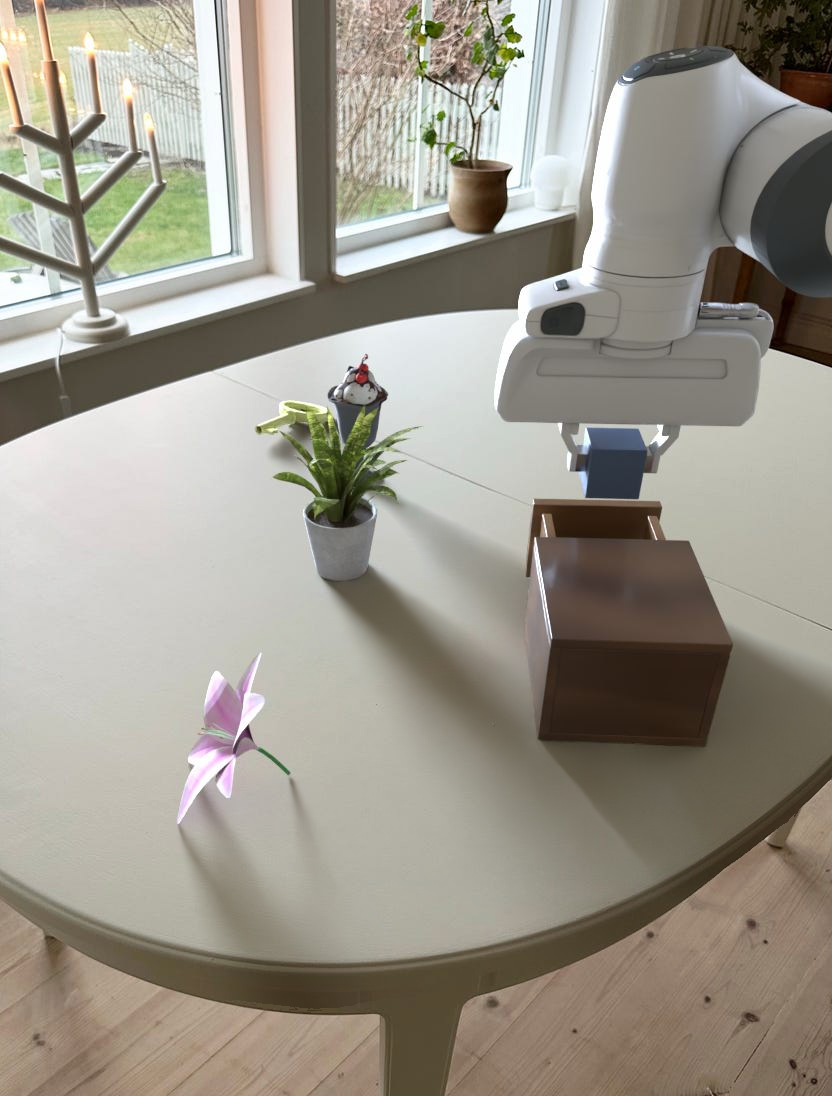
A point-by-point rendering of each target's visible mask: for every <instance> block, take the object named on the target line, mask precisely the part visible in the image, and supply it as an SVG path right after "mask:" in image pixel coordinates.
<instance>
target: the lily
mask: <svg viewBox="0 0 832 1096" xmlns="http://www.w3.org/2000/svg"><path fill="white" fill-rule="evenodd" d="M261 656H262V652H259V653H258V654H257V655H256V656H255V657H254V659H252V661H251V663H250V664H249V666H248V667H247V668H246V670H245V671H244V673H243V674H242V676H241V678H240V679H239V681H238V683H237V685H236V686H235V689H234V687H233V686H232V685H231V684H230V683H229V681H228V680H227V679H226V678H224V676H223V675H222V674H221V672H220V671H218V670H216V671H214V672H213V674H212V676H211V678H210V681H209V684H208V687H207V691H206V696H205V700H204V706H203V723H204V726H203V727H201V728H200V729H201V731H203V732H199V733H197V735H199V738H198V739H197V740H196V742H195V744H194V745H193V746H192V748H191V750H190V752H189V753H188V756H187V762H188V763H189V764H191V765H194V766H193V768H192V769H191V771H190V772H189V774H188V777H187V779H186V781H185V784H184V787H183V791H182V794H181V798H180V803H179V807H178V811H177V818H176V823H177V825H178V824H180V823H181V822H182V820H183V819H184V817H185V815H186V813H187V811H188V810H189V808H190V806H191V805H192V803H193V802H194V801H195V799H196V797H197V795H198V794H199V793H200V792H201V791H202V789H203V788H204V787H205V786H206V784H207V783H208V782H209V781H211V779H212V778H213V777H215V784H216V787H217V788H218V790H219V792H220V794H222V795H223V796H224V797H225V798H226V799H230V798H231V795H232V791H233V783H234V782H233V781H234V774H235V766H236V759H238V758H239V757H241V755H244V754H245V753H246V752H249V751H250V750H255V751H257V752H259V753H261V754H263V755H264V756H265V757H267V759H270V760H271V761H272V762H273V763H274V764H275V765H276V766H277V767H279V769H280V770H281V771H283V773H285V774H286V776H290V775H291V771H290V770H289V769H288V768H287V767H285V766H284V764H283V763H282V762H280V761H279V759H277V758H276V757H275V756H274V755H273V754H271V753H269V752H268V751H267V750H265V749H264V748H263V747H261V746H260V745H258V744H257V743H256V742H255V741H254V738H253V735H252V731H251V728H250V723H251V722H252V720H253V719H254V718H255V717H256V716H257V715H258V713H259V712H260V711H261V709H262V708H263V707H264V705H265V703H266V699H265V697H264V696H263V695H261V694H260V693H259V694H258V693H255V692H251V689H252V685H253V681H254V679H255V675H256V672H257V670H258V669H257V668H258V666H259V663H260V659H261Z"/></svg>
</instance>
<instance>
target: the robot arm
mask: <svg viewBox="0 0 832 1096" xmlns="http://www.w3.org/2000/svg"><path fill="white" fill-rule="evenodd" d="M609 97H610V98H609V101H608V103H607V108H606V110H605V111H606V112H605V115H604V119H603V124H602V128H601V134H600V139H599V142H598V149H597V154H596V161H595V166H594V175H593V180H592V188H591V204H592V211H593V223H592V229H591V234H590V236H589V240H588V242H587V244H586V246H585V249H584V253H583V259H582V266H581V267H580V268H577V269H574V270H571V271H568V272H565V273H561V274H559V275H555V276H551V277H549V278H545V279H541V280H539V281H535V282H532V283H529V284H527V285H525V286H523V288H521V290H520V294H519V298H518V307H517V311H518V318H519V319H518V320H517V321H516V322H514V323H513V324H512V325H511V327H510V328H509V330H508V332H507V334H506V336H505V338H504V342H503V346H502V349H501V352H500V357H499V362H498V367H497V372H496V379H495V385H494V396H493V397H494V399H493V400H494V401H493V402H494V409H495V411H496V413H497V414H498V416H499V417H500V418H501V419H502V421H504V422H505V423H530V424H531V423H532V424H533V423H536V424H538V423H539V424H557V425H558V429H559V433H560V436H561V439H562V440H563V442H564V445H565V446H566V449H567V458H566V468H567V471H568V472H569V473H571V472H572V473H579V472H586V468H587V464H586V463H587V462H588V455H589V454H588V450H587V447H586V445H583V444H578V443H577V441H576V440H575V437H574V436H577V435H578V434H579V430H580V425H581V424H585V425H586V424H587V425H588V424H590V425H631V426H632V425H635V426H636V425H637V426H639V425H641V426H643V425H644V426H657V428H658V431H659V432H658V433H657V434H656V436H655V437H654V438H653V440H652V441H651V442H650V444H649V445H645V446H646V448H647V451H648V452H647V457H646V463H645V468H644V474H657V473H658V471H659V466H660V460H661V456H663V455H665V453H666V452H667V451H668V450H669V449H670V447H671V446H672V445H674V443H675V442H676V441H677V440H678V438H679V436H680V431H681V426H685V427H686V426H689V427H692V426H693V427H741V426H743V425H744V424H746V423H747V422H748V421H749V420H750V419H751V418H752V417H754V414H755V411H756V407H757V403H758V395H759V389H760V381H761V367H762V358H764V356H765V355H766V354H767V352H768V350H769V348H770V345H771V340H772V337H773V333H774V327H775V325H774V320H773V318H772V315H770V313H769V312H767V311H766V310H764V309H762V308H760V306H759V304H757V303H754V302H739V303H726V302H719V301H718V302H717V301H716V302H715V301H714V302H712V301H711V302H710V301H709V302H707V301H701V297H702V293H703V289H704V284H705V278H706V273H707V268H708V263H709V258H710V256H711V255H712V253H714V251H715V250H716V249H718V248H724V247H736V249H738V250H740V251H741V252H743V253H744V254H746V255H747V256H749V257H751V258H753V259H754V260H756V261H757V262H759V263H760V264H762V265H763V266H764V267H765V268H766V270H768V271H769V272H770V273H771V274H772V275H773V276H774V277H775V278H777V280H779V282H781V283H782V285H784V286H785V287H787V288H788V289H789V290H791V291H793V292H795V293H796V294H800V295H803V296H806V297H811V298H832V112H831V111H829V110H827V109H824V108H821V107H817V106H813V105H811V104H808V103H805V102H803V101H801V100H799V99H797V98H795V97H792V96H790V95H788V94H786V93H784V92H782V91H780V90H779V89H777V88H775V87H773V86H772V85H770V84H768V83H767V82H765V81H764V80H762V78H761V79H760V78H759V77H758V76H757V75H755V74H754V73H753V72H752V71H751V70H749V68H747V67H746V66H745V65H744V64H743V63H742V62H741V61H740V59H739V58H738V56H737V55H736V53H735V52H734V51H733V50H732V49H730V48H725V47H723V46H715V45H699V46H698V45H697V46H695V47H681V48H675V49H670V50H665V51H662V52H661V51H660V52H658V53H654V54H651V55H648V56H645V57H644V58H641V59H640V60H638V61H636V62H634V63H632V64H631V65H630V66H628V68H626V70H624V71H623V72H622V73H621V74H620V75H619V77H618V79H617V80H616V82H615V85H614V86H613V89H612V92H611V95H610V96H609ZM758 316H759V317H758ZM760 316H761V317H760Z"/></svg>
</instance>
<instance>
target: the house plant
mask: <svg viewBox="0 0 832 1096" xmlns="http://www.w3.org/2000/svg"><path fill="white" fill-rule="evenodd" d="M305 408H306V410H305V412H306V414H307V419H308V423H307V424H308V428H309V431H310V437H311V438H310V439H309V441H312V450H313V454H314V458H315V459H314V458H313V457H312V455H311V453H310V452H309V451H308V449H307V448H306V447H305V446H303V444H302V443H301V442H299V441H298V440H297V439H296V438H294V437H293V436H292V435H290V434H288V433H285V432H283V431H281V430H279V433H280V434H281V435H282V436H283V437H284V438H285V439H286V440H288V441H289V442H290V444H291V446H292V447H293V448H294V449H295V451H296V452H297V453H298V454H299V455H301V457H302V458H303V459H304V461H305V462H306V463H305V462H304V461H303V459H302V458H300V457H299V456H297V455H295V454H292V453H291V456H293V457H295V458H296V459H297V460H299V461H300V462H301V463H302V464H303V465H304V466H305V467H306V468H307V469H308V471H309V473H310V475H311V476H312V477H313V480H315V482H316V483H317V485H318V487H319V490H320V492H319V490H318V489H317V488H316V487H315V486H314V485H313V484H312V482H310V481H309V480H307V479H306V478H304V477H303V476H300V475H299V474H297V473H293V472H291V471H282V472H278V473H276V474H274V475H273V476H272V477H271V478H270V480H272V479H275V480H278V481H282V482H287V483H291V484H295V485H298V486H301V487H302V488H305V489H307V490H308V491H310V492H311V493H312V494H313V495H314V496H315V497H314V498H313V499H312V500H311V501H309V502H308V503H307V504H306V505H305V506H304V508H303V510H302V511H303V512H302V515H303V520H304V524H305V528H306V532H307V535H308V541H309V545H310V550H311V553H312V557H313V561H314V566H315V569H316V572H317V574H318V575H319V576H320V577H322V578H323V579H327V580H330V581H336V582H344V581H351V580H356V579H357V578H360V577H362V576H363V575H365V573H366V572H367V570H368V567H369V562H370V556H371V551H372V544H373V539H374V535H375V529H376V522H377V516H378V508H377V506H376V504H375V503H373V502H372V501H371V499H373V498H374V497H375V495H373V496H371V497H370V498H369V499H368V498H366V497H364V495H366V493H367V492H376V493H377V494H376V496H378V495H386V496H387V497H390V498H393V499H394V500H395V501H396V502H397V503H398V505H400V503H399V500H398V497H397V494H396V492H395V491H394V490H393V489H391V488H390V487H389V486H386V485H381V484H376V483H378V482H380V481H383V480H385V479H387V478H389V477H391V476H394V475H396V474H399V472H398V471H396V470H395V469H392V468H394V467H393V466H396V465H398V464H401V463H405V462H406V461H408V459H402V460H394V461H390V462H386V461H384V460H382V459H379V457H381V455H382V454H384V453H385V452H389V453H398V454H402V452H401V451H400V450H397V449H395V448H392V446H394V445H395V444H396V443H400V442H404V441H406V440H410V439H411V437H409V438H408V437H407V438H405V437H404V438H398V437H400V436H402V435H404V434H407V433H410V432H412V431H415V430H418V429H420V428H423V426H422V425H419V426H414V427H409V428H405V429H401V430H399V431H396V432H394V433H392V434H391V435H388V436H387V437H386V438H384V439H382V440H381V441H380V442H379V443H377V444H375V445H371V446H369V447H368V448H366V449H365V450H362V449H363V447H364V445H365V443H366V441H367V439H368V437H369V435H370V428H371V422H372V420H373V418H374V417H375V415H376V413H377V409H378V408H377V409H374V410H373V411H372V412H370V413H369V414H368V415H366V416H365V405H364V406H363V408H362V410H361V412H360V413H359V415H358V417H357V420H356V422H355V424H354V426H353V428H352V430H351V432H350V434H349V436H348V438H347V441H346V443H345V444H344V445H343V450H342V447H341V441H340V440H341V438H340V434H339V431H338V430H337V429H338V428H337V427H336V424H335V421H334V417H333V414H332V412H331V410H330V409H329V407H328V406H326V408H327V415H328V421H327V422H328V434H329V438H328V434H327V431H326V428H325V426H324V425H323V423H321V422H320V421H319V420H318V419H317V417H316V415H315V414H314V413H315V412H314V411H313V410H311V409H310V408H309V407H307V406H306V407H305ZM364 416H365V418H364ZM329 440H330V441H329ZM363 456H364V459H363V461H362V462H361V463H360V465H359V466H358V467H357V469H356V470H355V471H354V469H355V466H356V463H357V462H358V461H359V460H360V459H361V458H362V457H363ZM384 464H385V465H384ZM380 465H383V466H382V467H381V468H379V469H377V468H376V467H377V466H380ZM369 469H373V470H376V471H375V472H373V473H372V474H371V475H369V476H368V477H367V478H366V479H365V480H364V481H363V479H364V477H365V476H366V474H367V472H368V471H369ZM357 481H358V482H357ZM362 481H363V482H362ZM361 482H362V483H361ZM356 483H357V484H356ZM355 485H356V486H355Z"/></svg>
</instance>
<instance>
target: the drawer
mask: <svg viewBox="0 0 832 1096" xmlns="http://www.w3.org/2000/svg"><path fill="white" fill-rule="evenodd" d="M662 513H663V506H662V503H661V501H660V500H628V499H578V498H575V499H574V498H573V499H571V498H566V499H565V498H532V501H531V510H530V518H529V519H530V520H529V526H528V527H529V528H528V537H527V545H526V557H525V565H524V576H525V578H526V579H527V578H529V579H530V574H531V565H532V556H533V547H534V538H535V537H559V538H601V539H643V540H667V538H666V536H665V534H664V531H663V528H662V526H661V523H660V521H661V517H662Z"/></svg>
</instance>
